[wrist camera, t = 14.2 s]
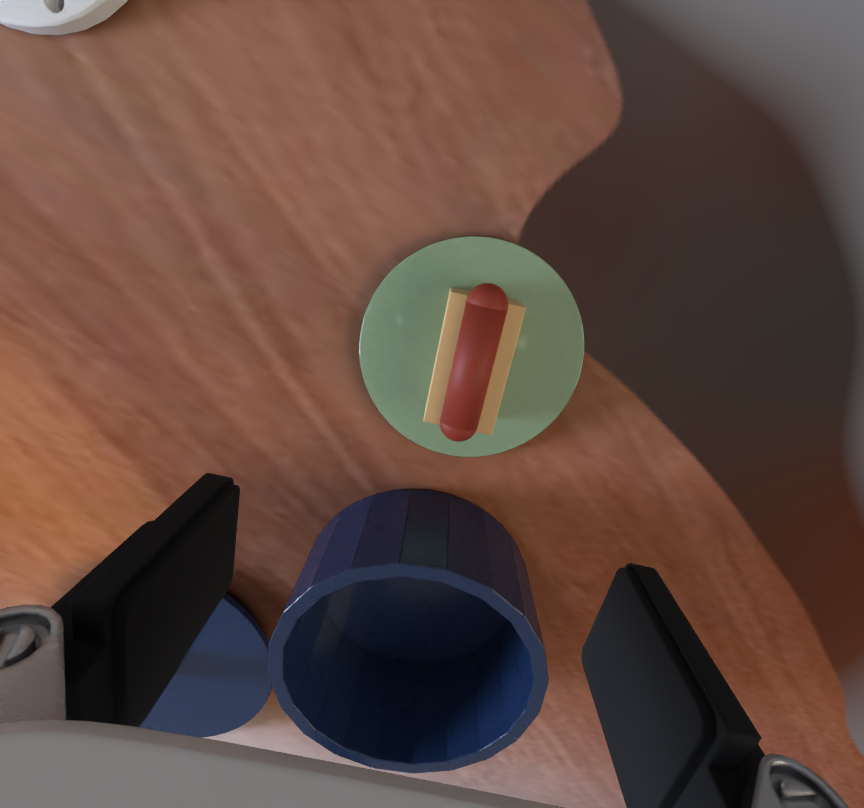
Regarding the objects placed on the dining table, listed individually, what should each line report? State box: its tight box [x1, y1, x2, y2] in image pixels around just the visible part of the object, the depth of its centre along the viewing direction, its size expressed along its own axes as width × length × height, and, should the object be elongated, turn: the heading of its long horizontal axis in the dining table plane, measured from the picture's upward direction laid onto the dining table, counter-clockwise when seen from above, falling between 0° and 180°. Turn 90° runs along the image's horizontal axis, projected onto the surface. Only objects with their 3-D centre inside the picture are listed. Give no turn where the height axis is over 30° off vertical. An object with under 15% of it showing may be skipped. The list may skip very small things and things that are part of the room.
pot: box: [268, 489, 549, 773], centre depth 27 cm, size 15×15×7 cm
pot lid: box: [138, 594, 272, 738], centre depth 30 cm, size 16×16×6 cm
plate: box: [359, 236, 584, 457], centre depth 24 cm, size 12×12×1 cm
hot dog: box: [423, 283, 526, 442], centre depth 22 cm, size 8×4×3 cm, turn 169°
